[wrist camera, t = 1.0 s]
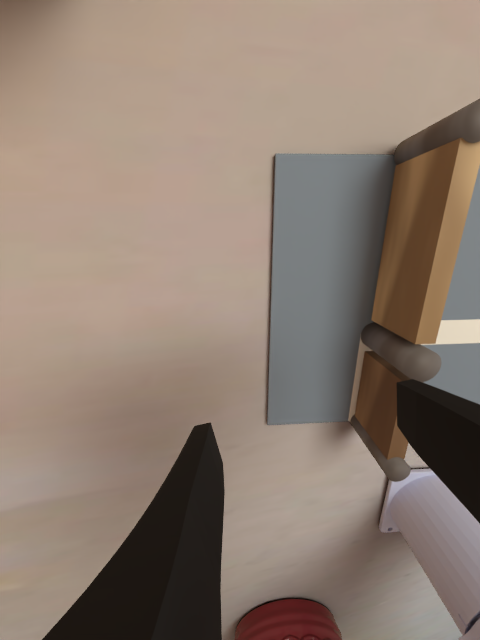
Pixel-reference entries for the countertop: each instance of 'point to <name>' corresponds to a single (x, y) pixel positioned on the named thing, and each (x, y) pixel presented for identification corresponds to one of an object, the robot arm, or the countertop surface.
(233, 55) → the countertop surface
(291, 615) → the canister
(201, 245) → the countertop surface
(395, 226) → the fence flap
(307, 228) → the mat
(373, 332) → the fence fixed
